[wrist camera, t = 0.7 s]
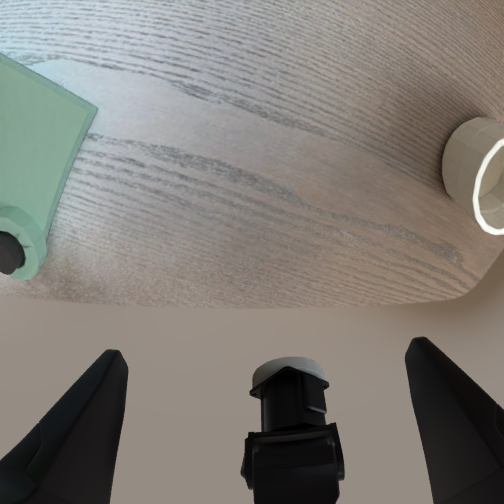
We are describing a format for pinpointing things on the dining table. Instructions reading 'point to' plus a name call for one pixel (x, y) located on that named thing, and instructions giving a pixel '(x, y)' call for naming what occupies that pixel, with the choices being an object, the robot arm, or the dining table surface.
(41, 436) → the robot arm
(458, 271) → the dining table surface
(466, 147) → the bowl
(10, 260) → the button
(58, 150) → the scale
